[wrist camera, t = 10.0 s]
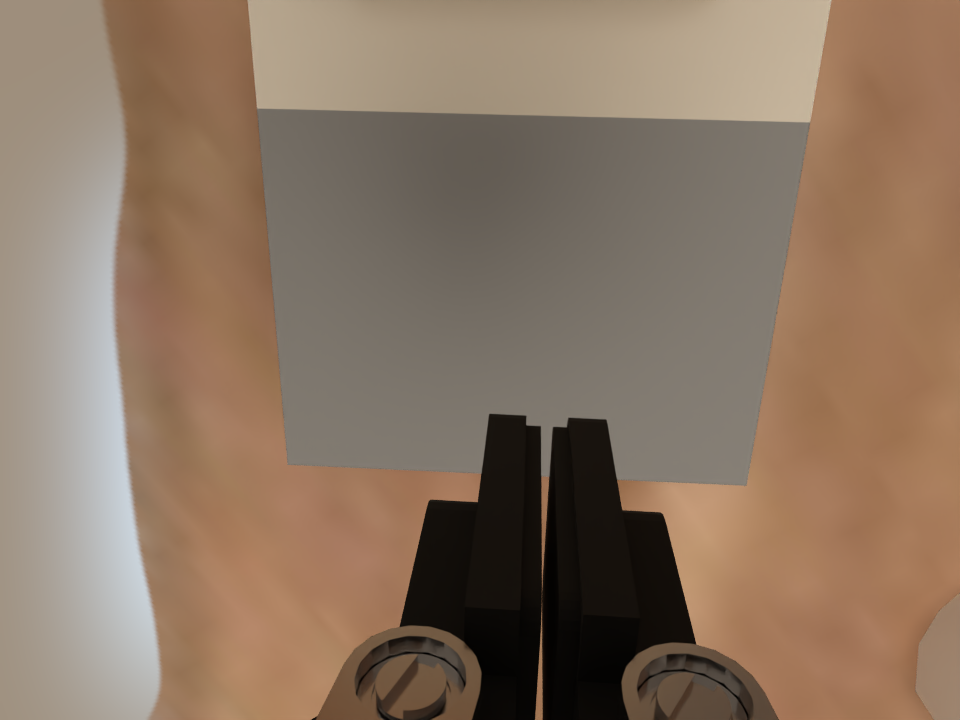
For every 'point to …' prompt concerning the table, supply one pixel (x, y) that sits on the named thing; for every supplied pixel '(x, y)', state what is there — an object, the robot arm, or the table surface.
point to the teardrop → (941, 664)
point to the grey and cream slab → (530, 222)
